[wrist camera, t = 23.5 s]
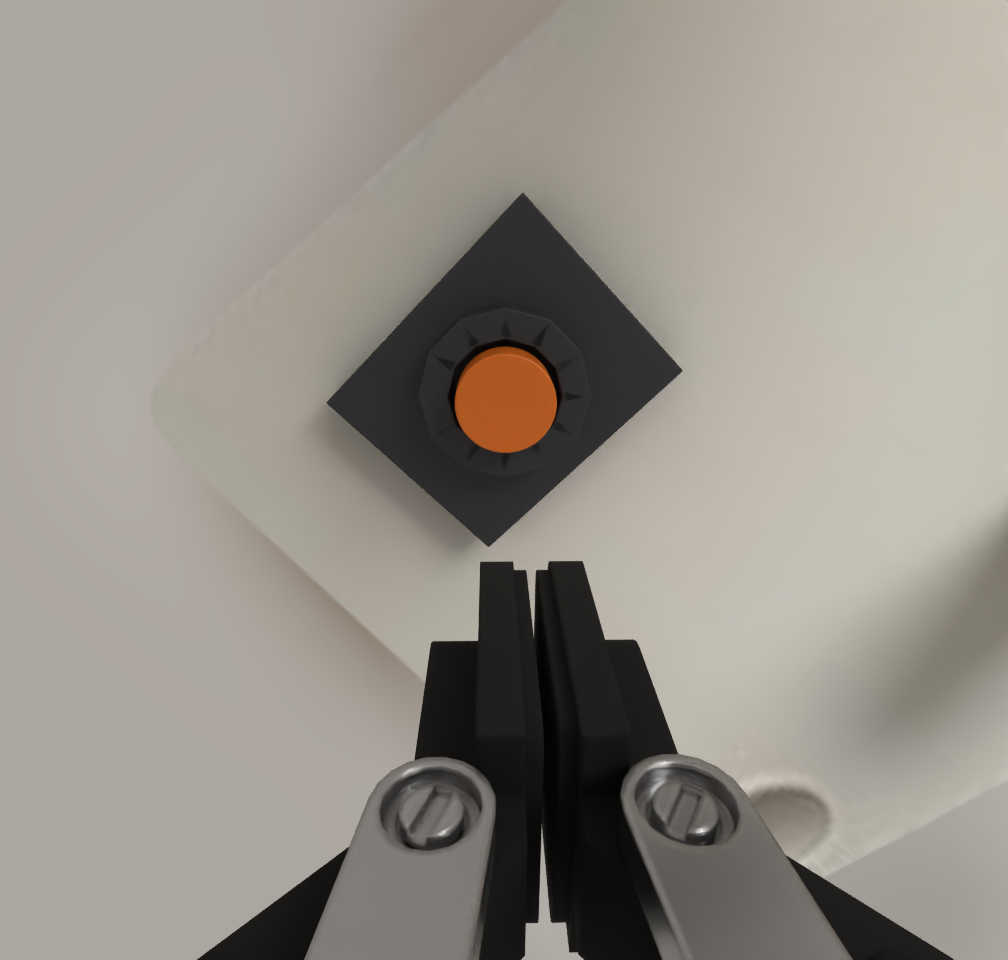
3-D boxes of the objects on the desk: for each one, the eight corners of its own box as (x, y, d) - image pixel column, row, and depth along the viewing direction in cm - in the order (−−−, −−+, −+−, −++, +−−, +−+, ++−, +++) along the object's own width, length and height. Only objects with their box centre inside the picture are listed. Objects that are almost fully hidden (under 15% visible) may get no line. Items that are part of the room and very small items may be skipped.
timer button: (436, 394, 27) (433, 405, 25) (505, 325, 26) (506, 331, 24) (504, 459, 28) (505, 473, 26) (572, 394, 27) (578, 404, 26)
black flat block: (337, 391, 31) (315, 413, 27) (520, 195, 28) (525, 189, 24) (488, 528, 33) (488, 565, 30) (670, 361, 30) (695, 379, 27)
